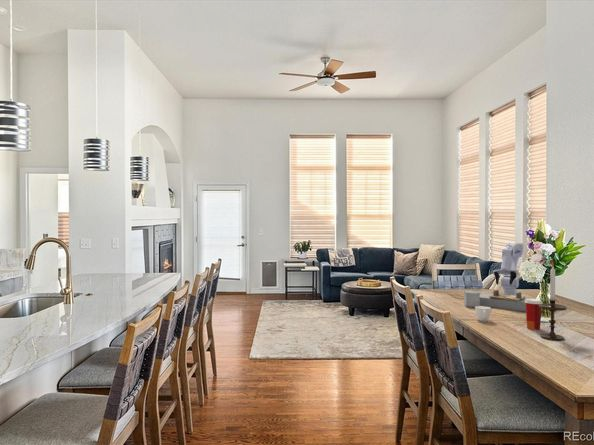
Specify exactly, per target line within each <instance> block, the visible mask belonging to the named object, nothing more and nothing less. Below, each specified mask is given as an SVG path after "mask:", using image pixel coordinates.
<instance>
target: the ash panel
mask: <svg viewBox="0 0 594 445" xmlns="http://www.w3.org/2000/svg"><path fill="white" fill-rule="evenodd" d="M523 298H526V295H525V296H524V295H522V292H521V291H520V292H518V291H517V293H516V295H510V296H508V297H505V298H503V300H512V301H519V300H521V299H523Z"/></svg>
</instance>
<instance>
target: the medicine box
mask: <svg viewBox="0 0 594 445" xmlns="http://www.w3.org/2000/svg"><path fill="white" fill-rule="evenodd" d="M463 295H464V301H463V302H464V306H465V307H466V308H475V307H476V306H480V295H481V293H480V292H478V291H464V294H463Z"/></svg>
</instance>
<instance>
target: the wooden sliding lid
mask: <svg viewBox="0 0 594 445" xmlns="http://www.w3.org/2000/svg"><path fill="white" fill-rule="evenodd" d="M492 293H493V294H492V296H489V298H495V299H503V298H505V297H508V296H510V295H507V294H503V293H499V289H496V290H493V292H492Z"/></svg>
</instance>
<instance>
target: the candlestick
mask: <svg viewBox="0 0 594 445" xmlns="http://www.w3.org/2000/svg"><path fill="white" fill-rule="evenodd" d="M550 262H551V269H550V275H549V276H550V284H549V286H550V288H549V290H550V292H549V298H548V299H547V300H548V301H549V303H543V304H539V308H542V310H548V312H550V319H548V323H550V325H549V326H548V327H549V328H550V331H549V333H541V334H540V338H541V339H544V340H549V341H555V342H557V341H559V342H563V341H564V340H565V337H564V336H563V335H560V334H556V332H555V329H556V326H555V324H556V323H557V321H556V320H555V313H556V312H558V311H562V312H563V311H566V310H567V305H566V306H565V305H564V304H557V303H556V301H558V299H556V269H555V268H554V265H555V263H554V261H553V260H551V261H550Z"/></svg>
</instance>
